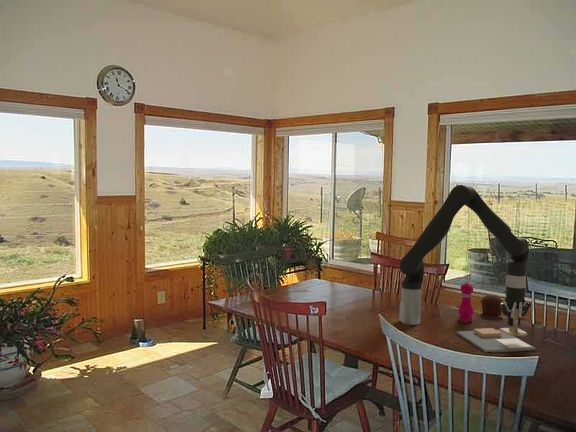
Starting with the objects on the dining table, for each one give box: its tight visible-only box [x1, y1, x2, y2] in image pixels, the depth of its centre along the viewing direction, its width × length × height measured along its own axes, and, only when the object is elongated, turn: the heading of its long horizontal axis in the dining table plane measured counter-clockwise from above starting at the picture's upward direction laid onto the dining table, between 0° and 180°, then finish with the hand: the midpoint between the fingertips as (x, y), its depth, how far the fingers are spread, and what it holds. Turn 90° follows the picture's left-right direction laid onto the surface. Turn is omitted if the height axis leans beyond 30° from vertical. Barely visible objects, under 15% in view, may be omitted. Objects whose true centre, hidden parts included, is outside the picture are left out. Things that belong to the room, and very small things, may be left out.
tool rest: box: [495, 337, 533, 348], centre depth 201 cm, size 10×10×1 cm
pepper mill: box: [457, 280, 475, 323], centre depth 236 cm, size 7×7×20 cm
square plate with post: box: [499, 309, 528, 337], centre depth 200 cm, size 8×7×11 cm
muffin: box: [480, 294, 504, 318], centre depth 247 cm, size 12×11×10 cm
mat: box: [456, 329, 536, 354], centre depth 206 cm, size 22×24×1 cm
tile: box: [473, 327, 501, 337], centre depth 212 cm, size 2×7×9 cm
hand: (513, 325), depth 200 cm, fingers closed on square plate with post
